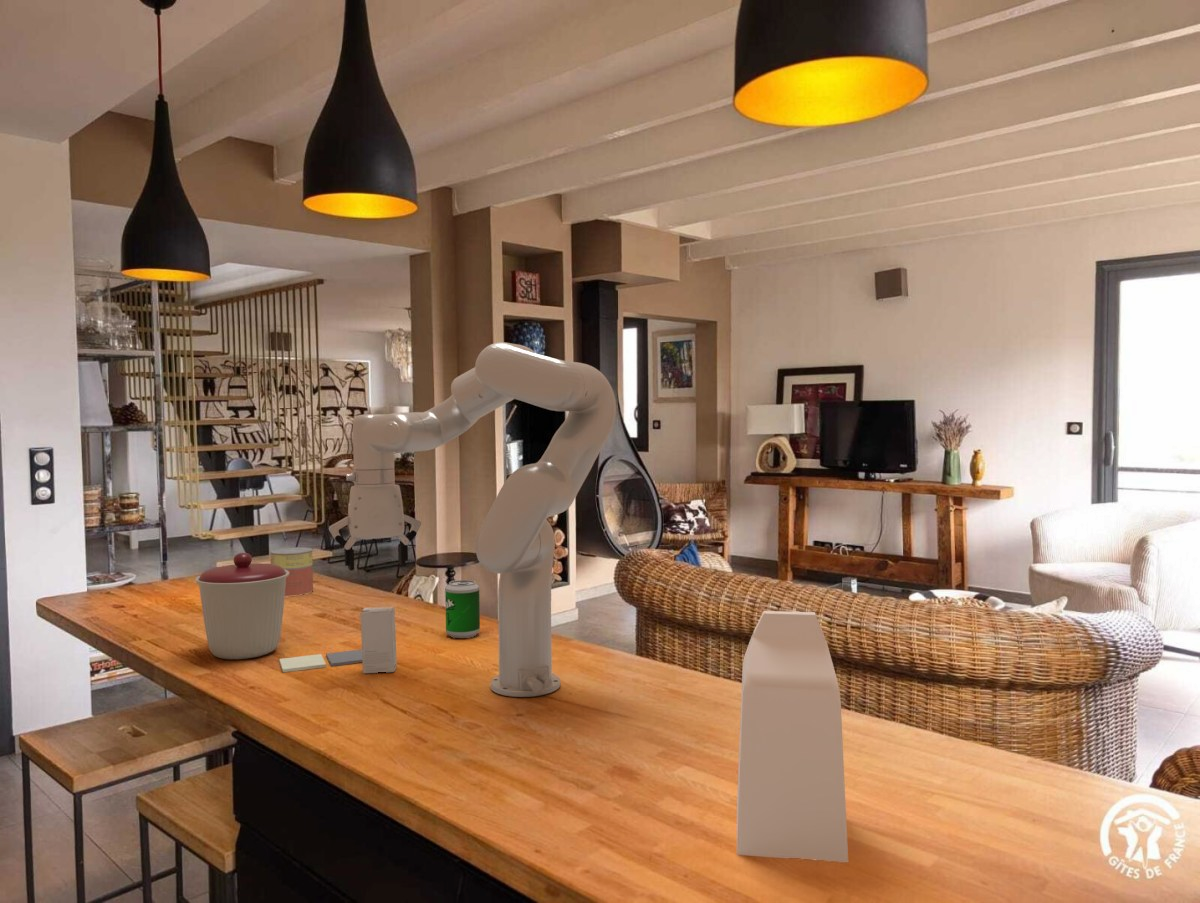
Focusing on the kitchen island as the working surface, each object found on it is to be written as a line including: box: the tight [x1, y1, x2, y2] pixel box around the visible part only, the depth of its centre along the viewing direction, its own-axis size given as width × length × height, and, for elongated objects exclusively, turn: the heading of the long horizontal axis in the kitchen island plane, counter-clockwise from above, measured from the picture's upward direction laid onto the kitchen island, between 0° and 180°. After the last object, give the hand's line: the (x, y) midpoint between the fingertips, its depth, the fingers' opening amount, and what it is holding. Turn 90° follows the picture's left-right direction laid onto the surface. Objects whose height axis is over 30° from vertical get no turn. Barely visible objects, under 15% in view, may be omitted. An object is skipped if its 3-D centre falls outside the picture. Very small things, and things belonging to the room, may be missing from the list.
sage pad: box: [279, 653, 327, 673], centre depth 171 cm, size 8×8×1 cm
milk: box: [736, 610, 849, 863], centre depth 100 cm, size 12×12×26 cm
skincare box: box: [359, 606, 398, 674], centre depth 166 cm, size 6×4×12 cm
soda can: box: [444, 579, 481, 639], centre depth 192 cm, size 8×8×12 cm
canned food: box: [269, 546, 314, 596], centre depth 241 cm, size 11×11×12 cm
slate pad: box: [325, 648, 363, 667], centre depth 174 cm, size 8×8×1 cm
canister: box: [194, 552, 289, 660], centre depth 179 cm, size 18×18×21 cm
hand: (376, 567), depth 165 cm, fingers open, 9 cm apart
